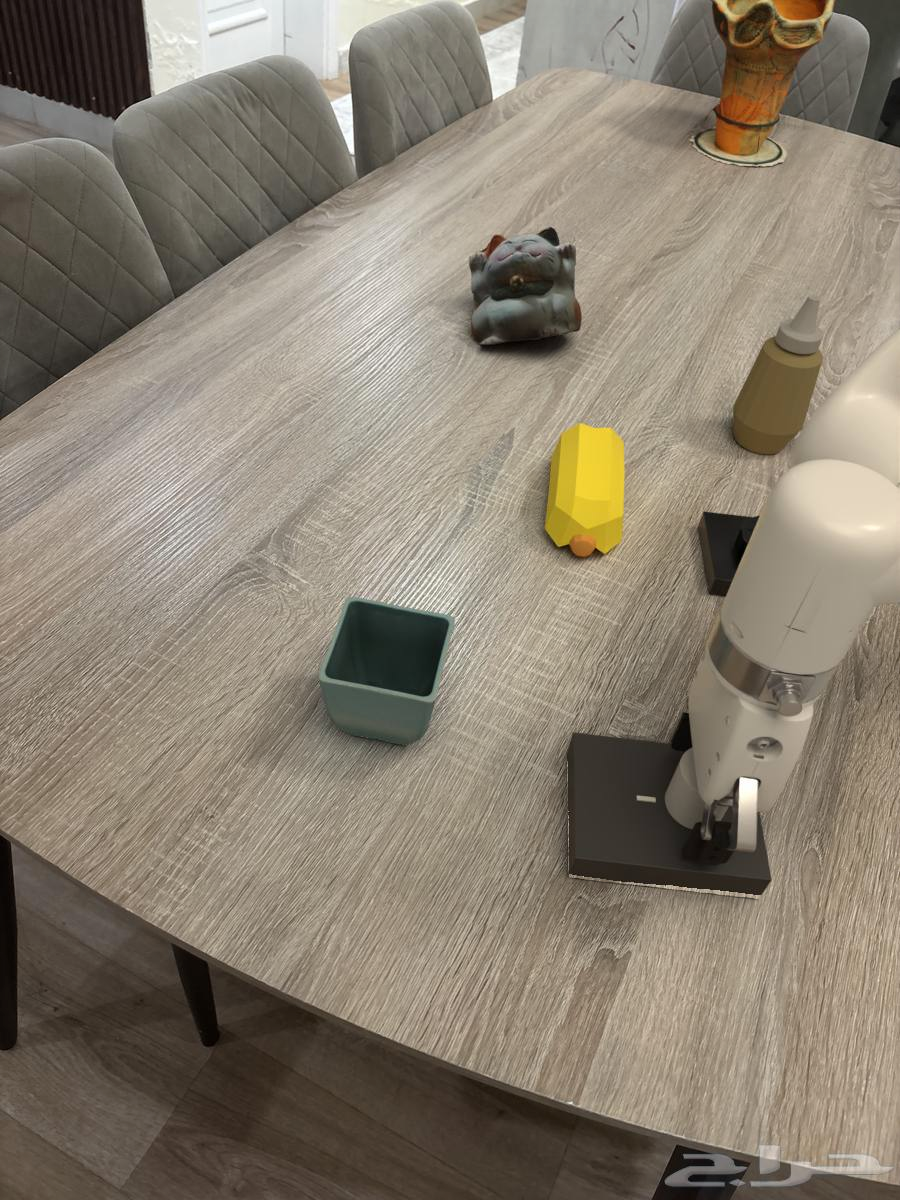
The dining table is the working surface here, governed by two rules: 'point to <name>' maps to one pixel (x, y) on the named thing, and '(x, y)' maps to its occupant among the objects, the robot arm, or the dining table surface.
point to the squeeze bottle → (780, 384)
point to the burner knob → (687, 794)
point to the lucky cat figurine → (524, 288)
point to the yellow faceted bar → (586, 490)
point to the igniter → (723, 547)
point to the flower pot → (384, 669)
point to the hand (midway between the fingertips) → (696, 800)
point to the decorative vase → (758, 74)
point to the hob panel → (642, 820)
